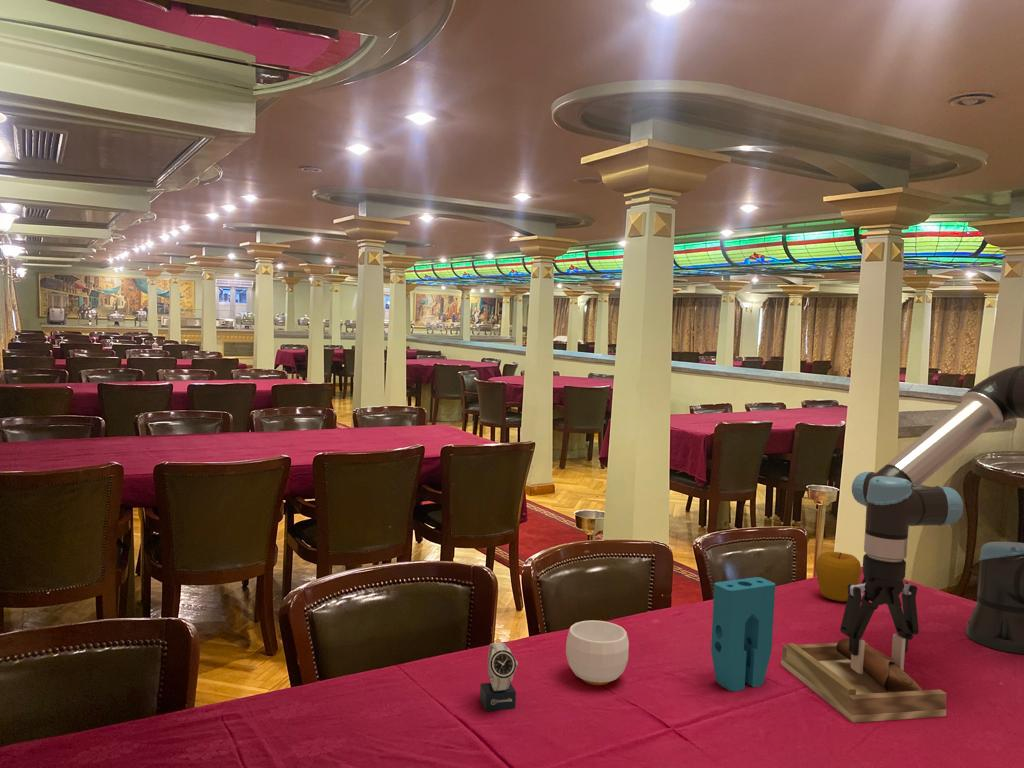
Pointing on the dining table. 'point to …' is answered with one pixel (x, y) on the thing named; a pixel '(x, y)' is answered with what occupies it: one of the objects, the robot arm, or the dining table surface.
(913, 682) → the sunglasses case
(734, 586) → the block
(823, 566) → the apple
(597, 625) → the cup
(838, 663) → the rail board
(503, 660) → the watch
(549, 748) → the dining table surface
